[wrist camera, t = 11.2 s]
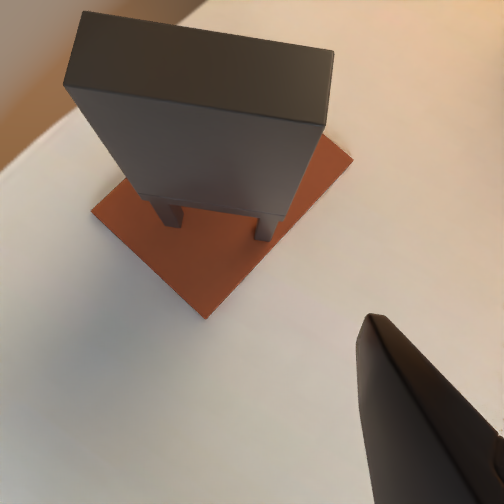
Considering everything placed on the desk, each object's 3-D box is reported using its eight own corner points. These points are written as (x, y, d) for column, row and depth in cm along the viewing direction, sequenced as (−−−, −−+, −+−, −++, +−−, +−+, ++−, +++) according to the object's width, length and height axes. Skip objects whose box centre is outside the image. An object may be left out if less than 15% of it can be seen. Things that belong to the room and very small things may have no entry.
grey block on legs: (273, 245, 21) (326, 126, 9) (161, 228, 21) (61, 85, 9) (287, 142, 23) (351, -87, 10) (181, 125, 23) (118, -125, 10)
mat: (352, 161, 23) (353, 159, 23) (205, 319, 21) (205, 319, 21) (243, 69, 24) (243, 66, 23) (92, 212, 22) (90, 211, 21)
